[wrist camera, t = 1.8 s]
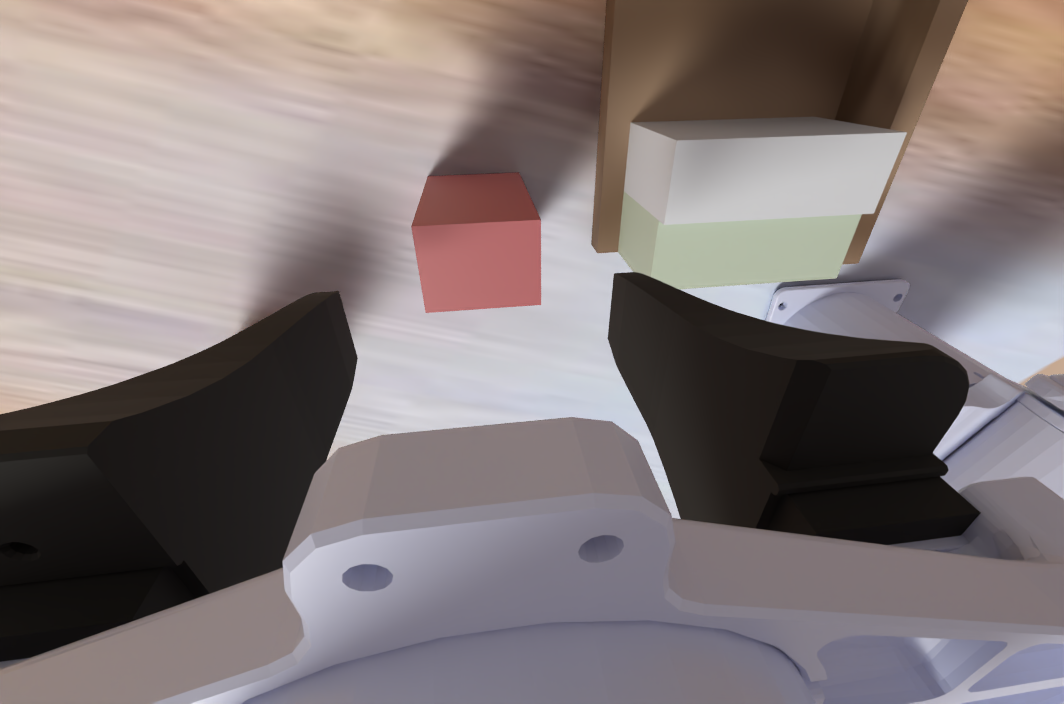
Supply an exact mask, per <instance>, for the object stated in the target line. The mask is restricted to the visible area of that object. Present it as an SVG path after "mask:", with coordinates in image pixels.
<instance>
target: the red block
mask: <svg viewBox="0 0 1064 704" xmlns="http://www.w3.org/2000/svg"><path fill="white" fill-rule="evenodd" d="M411 227H412V233H413V239H414V245H415V251H416V257H417V263H418V269H419V275H420V281H421V287H422V293H423V299H424V305H425V311H426V313H430V312H444V311H458V310H473V309H487V308H501V307H516V306H530V305H541V219H540V217H539V215H538V213H537V211H536V208H535V206H534V204H533V202H532V200H531V197H530V195H529V193H528V191H527V189H526V187H525V184H524V182H523V180H522V178H521V176H520V174H519V172H517V173H493V174H469V175H445V176H428V177H427V180H426V183H425V187H424V190H423V193H422V196H421V199H420V202H419V205H418V208H417V211H416V214H415V217H414V220H413V223H412V226H411Z"/></svg>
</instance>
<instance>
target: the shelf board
mask: <svg viewBox="0 0 1064 704" xmlns="http://www.w3.org/2000/svg"><path fill="white" fill-rule="evenodd" d="M967 2H968V0H607V3H606V19H605V35H604V51H603V67H602V83H601V99H600V115H599V131H598V147H597V163H596V180H595V196H594V212H593V228H592V246H593V247H594V249H595V250H596V252H597V253H608V252H618V246H619V236H620V226H621V215H622V205H623V195H624V185H625V174H626V164H627V154H628V144H629V133H630V123H631V122H660V121H692V120H723V119H755V118H787V117H819V118H825V119H831V120H837V121H843V122H849V123H855V124H861V125H867V126H873V127H879V128H884V129H890V130H896V131H902V132H907V134H906V136H905V139H904V141H903V144H902V146H901V149H900V151H899V153H898V156H897V158H896V161H895V163H894V166H893V168H892V171H891V173H890V175H889V178H888V180H887V183H886V185H885V188H884V190H883V192H882V195H881V197H880V200H879V202H878V205H877V207H876V209H875V212H874V214H862V215H861V218H860V220H859V223H858V225H857V228H856V231H855V233H854V236H853V238H852V241H851V243H850V246H849V248H848V251H847V253H846V256H845V258H844V261H843V263H842V264H856V263H859V261H860V258H861V256H862V253H863V251H864V249H865V246H866V244H867V241H868V239H869V237H870V234H871V232H872V229H873V227H874V225H875V222H876V220H877V217H878V215H879V213H880V210H881V208H882V205H883V203H884V201H885V198H886V196H887V193H888V191H889V189H890V186H891V184H892V181H893V179H894V177H895V174H896V172H897V169H898V167H899V165H900V162H901V160H902V157H903V155H904V153H905V150H906V148H907V145H908V143H909V141H910V138H911V136H912V134H913V131H914V129H915V126H916V124H917V122H918V119H919V117H920V114H921V112H922V110H923V107H924V105H925V102H926V100H927V98H928V95H929V93H930V90H931V88H932V86H933V83H934V81H935V78H936V76H937V74H938V71H939V69H940V66H941V64H942V62H943V59H944V57H945V54H946V52H947V50H948V47H949V45H950V42H951V40H952V38H953V35H954V33H955V30H956V28H957V26H958V23H959V21H960V18H961V16H962V14H963V11H964V9H965V6H966V4H967Z"/></svg>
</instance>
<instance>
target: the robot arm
mask: <svg viewBox="0 0 1064 704" xmlns="http://www.w3.org/2000/svg"><path fill="white" fill-rule="evenodd" d="M909 288H910V283H909V282H907V281H905V280H903V279H895V280H881V281H867V282H852V283H838V284H824V285H809V286H795V287H783V288H780V289H779V290H777V291H776V292H775V294H774V296H773V299H772V302H771V305H770V308H769V312H768V315H767V318H766V321H764V320H760V319H757V318H754V317H750V316H747V315H744V314H740V313H737V312H734V311H731V310H728V309H725V308H722V307H720V306H717V305H715V304H712V303H710V302H707V301H704V300H702V299H700V298H697V297H695V296H692V295H690V294H688V293H686V292H683V291H681V290H679V289H677V288H675V287H672V286H670V285H668V284H666V283H664V282H661V281H659V280H657V279H655V278H652V277H650V276H647V275H645V274H642V273H638V272H630V273H615V274H614V279H613V290H612V301H611V311H610V322H609V332H608V340H609V343H610V347H611V350H612V353H613V356H614V359H615V362H616V365H617V367H618V369H619V371H620V373H621V375H622V377H623V379H624V381H625V383H626V385H627V387H628V389H629V391H630V393H631V395H632V397H633V399H634V401H635V403H636V405H637V407H638V409H639V411H640V412H641V414H642V416H643V418H644V420H645V422H646V424H647V426H648V428H649V431H650V433H651V435H652V437H653V440H654V442H655V445H656V448H657V450H658V453H659V456H660V459H661V461H662V464H663V467H664V469H665V472H666V475H667V478H668V481H669V484H670V487H671V490H672V493H673V496H674V499H675V502H676V505H677V508H678V512H679V515H680V518H681V519H675V518H672V516H671V513H670V511H669V509H668V507H667V504H666V502H665V500H664V498H663V495H662V493H661V491H660V489H659V487H658V484H657V482H656V480H655V478H654V475H653V473H652V471H651V469H650V466H649V464H648V462H647V460H646V458H645V455H644V453H643V451H642V449H641V446H640V444H639V442H638V440H636V439H635V438H634V437H632V436H631V435H630V434H628V433H627V432H625V431H624V430H623V429H621V428H620V427H619V426H617V425H616V424H615V423H613V422H610V421H601V420H592V419H583V418H574V417H569V418H558V419H548V420H537V421H526V422H516V423H505V424H495V425H484V426H474V427H463V428H453V429H442V430H432V431H421V432H410V433H400V434H389V435H381V436H377V437H374V438H371V439H367V440H364V441H361V442H357V443H354V444H351V445H347V446H344V447H341V448H338V449H337V450H336V452H335V453H334V454H333V455H332V456H331V457H330V458H329V459H328V460H327V456H328V454H329V451H330V448H331V445H332V443H333V440H334V437H335V435H336V432H337V429H338V426H339V424H340V421H341V418H342V415H343V413H344V410H345V407H346V404H347V401H348V399H349V396H350V393H351V390H352V386H353V381H354V376H355V370H356V364H357V354H356V351H355V347H354V344H353V340H352V337H351V333H350V330H349V326H348V322H347V319H346V315H345V312H344V308H343V305H342V301H341V298H340V294H339V291H335V292H320V293H312V294H309V295H307V296H305V297H303V298H301V299H299V300H297V301H295V302H293V303H291V304H289V305H288V306H286V307H284V308H282V309H281V310H279V311H277V312H275V313H274V314H272V315H270V316H268V317H267V318H265V319H263V320H261V321H260V322H258V323H256V324H254V325H252V326H251V327H249V328H247V329H245V330H243V331H241V332H239V333H237V334H235V335H234V336H232V337H230V338H228V339H226V340H224V341H222V342H220V343H218V344H216V345H214V346H212V347H210V348H208V349H206V350H203V351H201V352H199V353H197V354H194V355H192V356H190V357H187V358H185V359H183V360H180V361H178V362H176V363H173V364H170V365H168V366H165V367H163V368H160V369H157V370H154V371H151V372H148V373H146V374H143V375H140V376H137V377H134V378H131V379H129V380H126V381H123V382H120V383H117V384H114V385H111V386H108V387H104V388H101V389H98V390H94V391H91V392H88V393H84V394H81V395H77V396H73V397H70V398H66V399H62V400H59V401H55V402H51V403H47V404H43V405H39V406H35V407H31V408H27V409H23V410H18V411H14V412H9V413H5V414H0V704H1064V374H1058V375H1051V376H1047V375H1043V374H1037V375H1035V376H1034V377H1032V378H1031V379H1030V380H1029V381H1028V382H1026V383H1025V385H1026V386H1027V387H1028V388H1027V387H1025V386H1022V385H1020V384H1018V383H1016V382H1013V381H1011V380H1009V379H1007V378H1005V377H1003V376H1001V375H1000V374H998V373H996V372H995V371H993V370H991V369H990V368H988V367H986V366H985V365H983V364H981V363H980V362H978V361H976V360H975V359H973V358H971V357H969V356H968V355H966V354H964V353H963V352H961V351H959V350H958V349H956V348H954V347H953V346H951V345H949V344H948V343H946V342H944V341H943V340H941V339H939V338H937V337H936V336H934V335H932V334H931V333H929V332H927V331H926V330H924V329H922V328H921V327H919V326H917V325H916V324H914V323H912V322H911V321H909V320H907V319H905V318H904V317H902V316H900V315H899V314H897V312H898V310H899V308H900V306H901V304H902V302H903V300H904V298H905V296H906V294H907V292H908V290H909ZM781 303H783V304H782V305H781V306H780V307H778V306H779V305H780V304H781ZM326 460H327V461H326Z"/></svg>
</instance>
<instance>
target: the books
mask: <svg viewBox="0 0 1064 704" xmlns="http://www.w3.org/2000/svg"><path fill="white" fill-rule="evenodd" d="M906 134H907V132H902V131H896V130H890V129H884V128H879V127H873V126H867V125H861V124H855V123H849V122H843V121H837V120H831V119H825V118H819V117H787V118H755V119H723V120H692V121H660V122H631V123H630V133H629V144H628V154H627V164H626V174H625V185H624V195H623V205H622V215H621V226H620V236H619V246H618V253H619V254H620V255H621V256H622V258H623V259H624V260H625V262H626V263H627V264H628V265H629V267H630V268H631V269H632V271H633V272H638V273H642V274H645V275H647V276H650V277H652V278H655V279H657V280H659V281H661V282H664V283H666V284H668V285H670V286H672V287H675V288H677V289H689V288H703V287H718V286H733V285H747V284H762V283H776V282H791V281H806V280H820V279H835V278H837V276H838V273H839V271H840V268H841V266H842V263H843V261H844V258H845V256H846V253H847V251H848V248H849V246H850V243H851V241H852V238H853V236H854V233H855V231H856V228H857V225H858V223H859V220H860V218H861V215H862V214H874V212H875V209H876V207H877V205H878V202H879V200H880V197H881V195H882V192H883V190H884V188H885V185H886V183H887V180H888V178H889V175H890V173H891V171H892V168H893V166H894V163H895V161H896V158H897V156H898V153H899V151H900V149H901V146H902V144H903V141H904V139H905V136H906Z"/></svg>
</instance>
